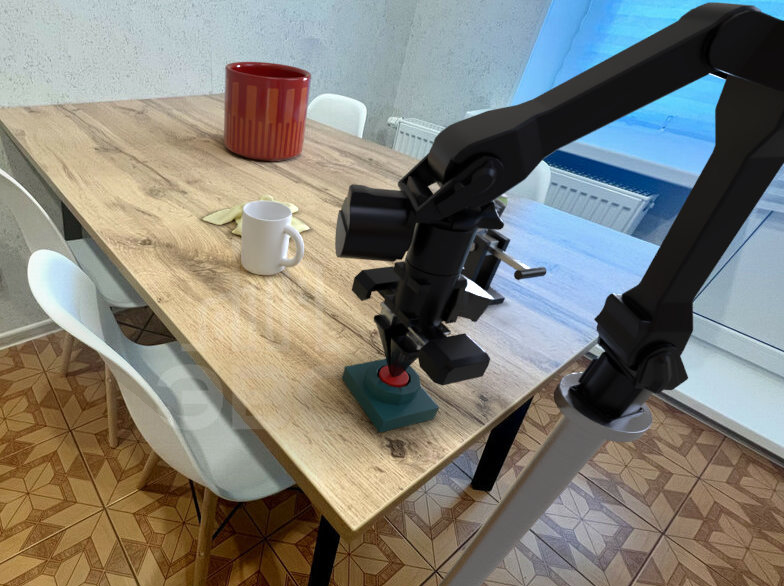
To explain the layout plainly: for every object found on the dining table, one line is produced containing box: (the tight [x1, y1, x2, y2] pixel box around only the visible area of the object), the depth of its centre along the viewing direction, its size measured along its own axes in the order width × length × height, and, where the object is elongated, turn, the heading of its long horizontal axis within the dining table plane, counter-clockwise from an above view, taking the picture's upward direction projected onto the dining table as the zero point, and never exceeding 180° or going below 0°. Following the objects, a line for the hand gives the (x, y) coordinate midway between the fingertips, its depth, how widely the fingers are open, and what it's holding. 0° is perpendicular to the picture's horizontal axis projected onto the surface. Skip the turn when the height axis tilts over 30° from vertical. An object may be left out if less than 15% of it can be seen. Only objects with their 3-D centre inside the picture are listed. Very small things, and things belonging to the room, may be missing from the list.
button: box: [378, 366, 409, 388], centre depth 58 cm, size 4×4×2 cm
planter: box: [223, 61, 312, 162], centre depth 129 cm, size 23×23×20 cm
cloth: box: [201, 194, 311, 239], centre depth 96 cm, size 22×19×6 cm
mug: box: [240, 200, 305, 276], centre depth 80 cm, size 12×8×10 cm
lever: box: [482, 235, 547, 281], centre depth 74 cm, size 12×5×2 cm, turn 20°
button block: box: [341, 358, 440, 434], centre depth 59 cm, size 10×8×4 cm
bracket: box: [463, 229, 511, 306], centre depth 80 cm, size 10×8×11 cm
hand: (394, 374), depth 58 cm, fingers closed, pressing on button
